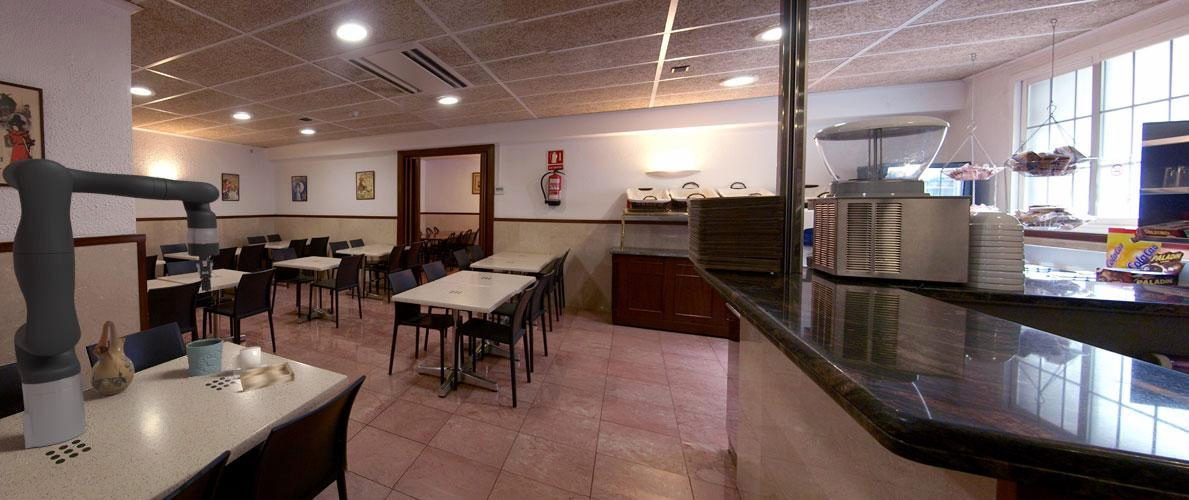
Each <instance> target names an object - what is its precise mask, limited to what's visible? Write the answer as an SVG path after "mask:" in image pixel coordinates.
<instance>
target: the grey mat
mask: <svg viewBox="0 0 1189 500" xmlns="http://www.w3.org/2000/svg"><path fill="white" fill-rule="evenodd" d="M266 366H268V364H267V363H266V364H261V367H266ZM240 372H241V369H235V370H232V375H233V379H234V381H236V380H240Z"/></svg>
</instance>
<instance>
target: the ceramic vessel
mask: <svg viewBox="0 0 1189 500" xmlns="http://www.w3.org/2000/svg"><path fill="white" fill-rule="evenodd" d="M102 326H103V327H102V334H101V336H100V339H99V340H98V343H97V344H96V345H95V347H94V349H93V351H92V353H93V355H95V356H96V357H97V358H98V361H96V362H95V364H94V365H93V367H92V369H91V371H90V374H89V379H90V384H91V387H92V388H93V390H94V391H96V392H97V393H99V394H100V395H102V396H114V395H118V394H121V393H122V392H124V391H125V390H126V389H127V388H128V387H129V386H130V385H131V383H132V382H133V378H134V376H135V366H134V363H133V362H132V360H131V359H130V358H129V357H127V356H126V353H125V352H124V351H125V350H124V345H125V341H126V337H119V335H118V333H117V329H116V326H115V323H114V322H113V321H112V320H106V321H105V322H104V324H103V325H102Z"/></svg>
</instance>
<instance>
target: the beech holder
mask: <svg viewBox="0 0 1189 500" xmlns="http://www.w3.org/2000/svg"><path fill="white" fill-rule="evenodd" d="M239 380H240V383H241V386H242V391H243V393H247V392H250V391H255V390H258V389H259V390H260V389H264V388H268V387H273V386H276V385H277V386H278V385H280V384H285V383H291V382H295V373H294V371H293V369H292V367H291V366H290V364H289V362H286V361H285V362H281V363H275V364H272V365H267V366H266V367H261V368H256V369H251V370H246V371H241V372H240V379H239Z"/></svg>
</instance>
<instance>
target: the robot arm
mask: <svg viewBox="0 0 1189 500" xmlns="http://www.w3.org/2000/svg"><path fill="white" fill-rule="evenodd" d="M1 175H2V178H3V180H4V182H5V183H6V184H7V185H8V186H9V187H11V188H13V189H14V190H16V191H17V192H18V196H19V202H20V203H19V204H20V211H21V212H20V213H21V215H20V218H19V223H18V225H17V229H16V232H15V235H14V238H13V243H12V260H13V261H12V266H13V271H14V275H15V278H16V281H17V284H18V287H19V289H20V292H21V294H22V297H23V298H24V301H25V306H26V319H25V321H26V322H25V323H23V324H22V325H20V326H19V327H18V328H17V330H16V331H15V333H14V338H13V345H14V353H15V358H16V366H17V370H18V373H19V374H20V375H19V376H20V379H21V388H22V395H23V406H24V411H23V413H22V414H21V417H22V419H21V420H22V427H23V437H24V446H25V449H29V448H30V449H31V448H38V447H39V448H42V447H46V446H51V445H52V446H53V445H56V444H60V443H63V442H66V441H69V440H72V439H75V438H77V437H80V436H81V435H82V434H84V433H85V432H86V431H87V421H86V420H87V419H86V412H85V411H86V410H85V399H84V390H83V389H84V388H83V377H82V366H81V362H80V360H79V358H78V356H77V353H76V347H75V346H77V344H78V343H79V342H80V340H81V337H82V331H81V326H80V322H79V319H78V314H77V310H76V304H75V303H76V302H75V290H76V253H75V251H76V249H75V244H74V243H75V242H74V232H73V225H72V220H71V204H72V195H73V193H74V194H75V193H77V194H95V195H106V196H107V195H108V196H115V197H125V198H131V199H132V198H133V199H134V198H135V199H143V200H152V201H153V200H154V201H179V202H180V201H181V202H182V204H183V208H184V211H185V213H186V224H187V225H186V227H187V232H186V245H187V255H188V256H189V257H198V260H196V261H195V263H196V264H195V265H196V268H197V274H198V275H199V279H200V287H201V291H203V292H205V291H207V292H208V291H210V290H212V286H211V285H212V284H211V279H212V276H213V275H212V274H213V266H214V263H213V259H210V257H212V256H218V255H220V240H219V238H220V236H219V233H218V222H217V221H218V219H217V215H216V213H215V212H214V211H212V210H211V203H214V202H216V201H217V200H219V198H220V196H221V195H220V190H219V189H218V187H217V186H215V185H214V184H212V183H209V182H203V181H194V180H193V181H191V180H179V179H171V178H165V177H159V176H149V175H140V174H139V175H138V174H129V173H127V174H126V173H111V172H108V173H107V172H99V171H98V172H97V171H89V170H81V169H76V168H69V167H66V166H65V165H63V164H61V163H59V162H58V161H54V160H51V159H47V158H24V159H23V158H22V159H19V160H15V161H13V162H10V163H9V164H6V166H5V167H4V168H3V170H2V174H1Z"/></svg>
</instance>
